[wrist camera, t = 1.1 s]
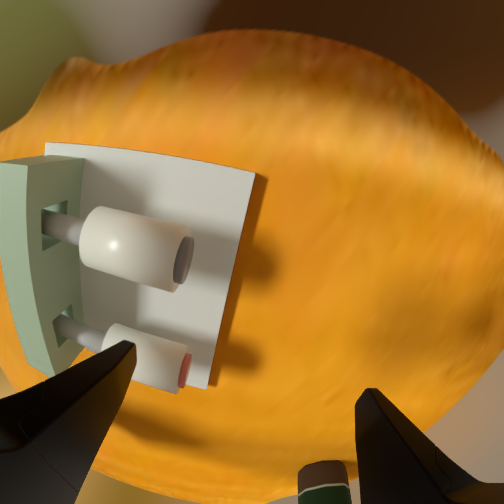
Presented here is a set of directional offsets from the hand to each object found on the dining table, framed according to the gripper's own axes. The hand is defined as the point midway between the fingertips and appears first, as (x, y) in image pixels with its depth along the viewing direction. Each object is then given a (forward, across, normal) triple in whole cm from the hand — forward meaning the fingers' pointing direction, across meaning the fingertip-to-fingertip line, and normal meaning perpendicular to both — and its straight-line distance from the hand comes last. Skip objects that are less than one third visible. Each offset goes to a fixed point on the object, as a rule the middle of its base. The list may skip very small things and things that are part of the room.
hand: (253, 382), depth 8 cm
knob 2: (+10, +10, +9) cm, 17 cm away
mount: (+12, +12, +5) cm, 18 cm away
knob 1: (+10, +11, 0) cm, 15 cm away
